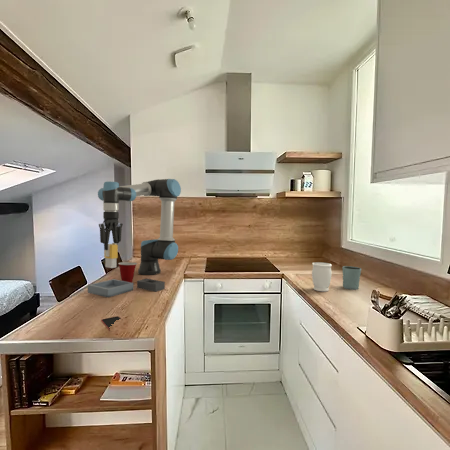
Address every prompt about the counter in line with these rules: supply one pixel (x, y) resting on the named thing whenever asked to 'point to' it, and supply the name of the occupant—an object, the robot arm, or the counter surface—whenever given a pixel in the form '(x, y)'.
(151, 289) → the block
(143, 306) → the counter surface
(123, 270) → the plastic cup
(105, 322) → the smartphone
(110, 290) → the parts tray
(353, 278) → the teal tapered cup
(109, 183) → the robot arm
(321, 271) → the jar
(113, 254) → the block
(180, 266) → the counter surface
